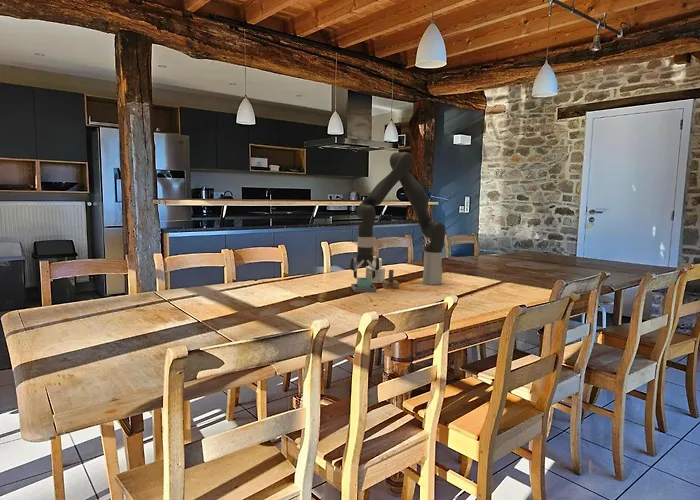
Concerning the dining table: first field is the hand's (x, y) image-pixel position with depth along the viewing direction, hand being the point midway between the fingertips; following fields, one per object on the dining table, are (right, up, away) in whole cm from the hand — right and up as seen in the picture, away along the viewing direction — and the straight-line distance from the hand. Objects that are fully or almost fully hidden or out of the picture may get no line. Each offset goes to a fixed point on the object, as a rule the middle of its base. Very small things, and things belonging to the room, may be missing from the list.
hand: (364, 278), depth 236 cm
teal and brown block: (+14, -5, +8) cm, 17 cm away
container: (+6, -3, +22) cm, 23 cm away
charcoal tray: (0, -6, +1) cm, 6 cm away
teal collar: (0, -5, +1) cm, 5 cm away
